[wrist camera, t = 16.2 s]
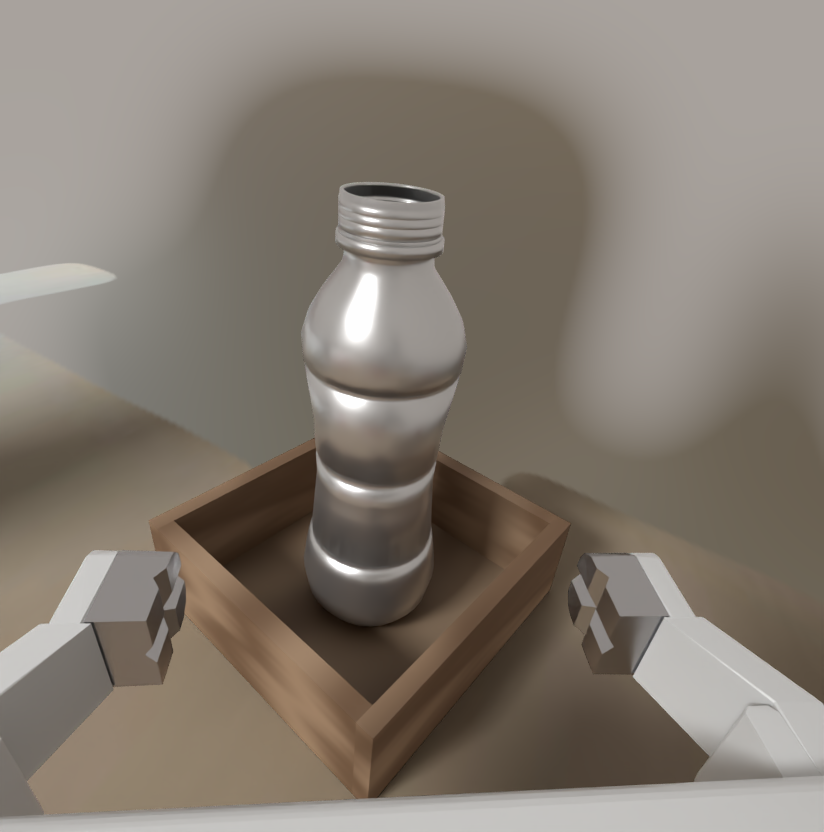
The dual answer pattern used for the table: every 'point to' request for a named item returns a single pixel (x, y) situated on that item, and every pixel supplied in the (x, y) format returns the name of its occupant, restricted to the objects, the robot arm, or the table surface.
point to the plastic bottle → (379, 402)
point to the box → (347, 643)
